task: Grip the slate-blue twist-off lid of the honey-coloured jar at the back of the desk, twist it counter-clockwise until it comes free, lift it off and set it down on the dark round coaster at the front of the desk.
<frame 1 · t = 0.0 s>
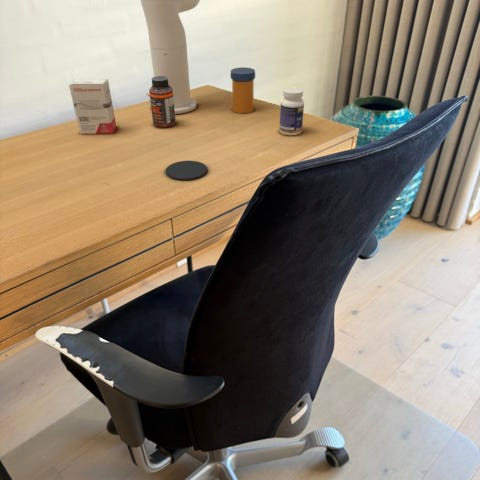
coaster: (186, 171, 103), on the table
supplement bottle: (164, 125, 125), on the table
ink box: (99, 131, 122), on the table
jar: (243, 109, 133), on the table
jar lid: (242, 72, 126), point 10 cm above the table, screwed on, not yet turned
pill bottle: (290, 132, 120), on the table
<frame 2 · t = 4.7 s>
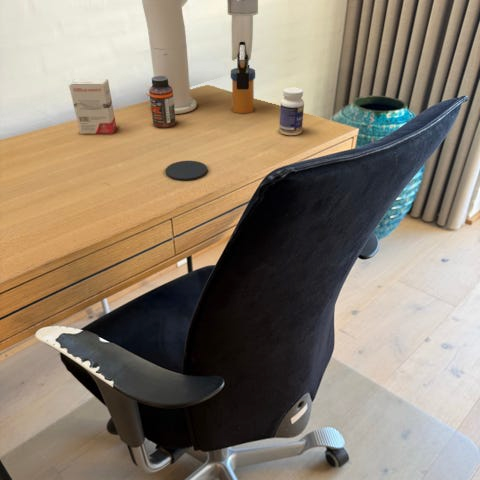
hand: (243, 84, 128), 7 cm above the table, tool pointing down, fingers closed on jar lid, 6 cm apart
jar lid: (242, 72, 126), point 10 cm above the table, screwed on, not yet turned, touching gripper
everything else where it was.
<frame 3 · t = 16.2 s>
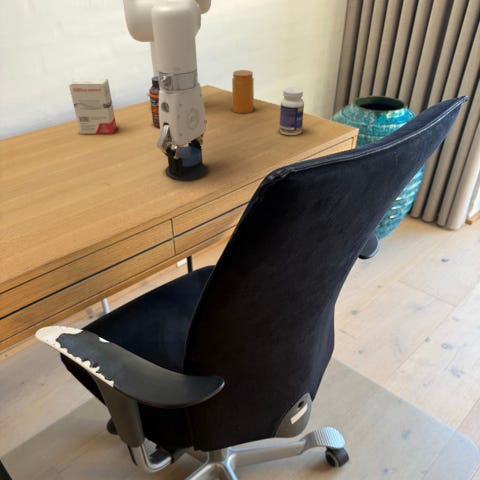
hand: (186, 167, 103), 1 cm above the table, tool pointing down, fingers closed on jar lid, 6 cm apart
jar lid: (185, 153, 101), point 4 cm above the table, off its thread, touching gripper
everything else where it was.
when the fingers open (2 cm above the table, at t = 27.9 s): jar lid drops 1 cm, resting on coaster.
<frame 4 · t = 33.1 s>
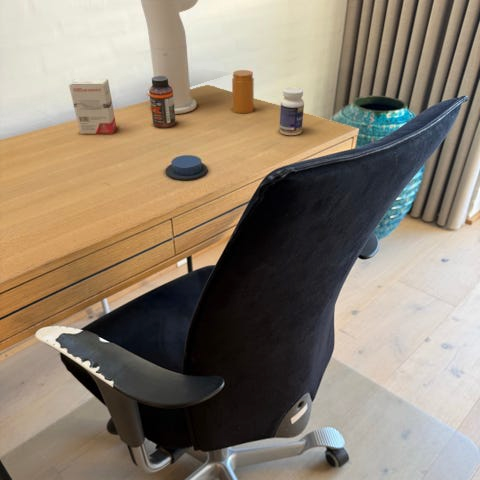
jar lid: (186, 162, 102), point 2 cm above the table, off its thread, touching coaster
everything else where it was.
at the end: jar lid came off its thread; jar lid inside the target area on the coaster (0.1 cm from its centre), point 1.9 cm above the coaster's base; the gripper is holding nothing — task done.
